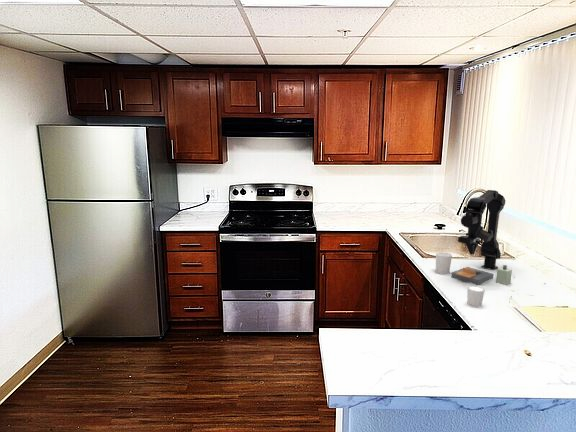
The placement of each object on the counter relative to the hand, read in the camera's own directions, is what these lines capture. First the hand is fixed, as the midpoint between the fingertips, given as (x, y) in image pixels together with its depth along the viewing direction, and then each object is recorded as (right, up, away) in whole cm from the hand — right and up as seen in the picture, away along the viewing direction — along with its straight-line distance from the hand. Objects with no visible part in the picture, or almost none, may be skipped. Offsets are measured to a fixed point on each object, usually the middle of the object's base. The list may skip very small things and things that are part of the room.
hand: (471, 254), depth 203 cm
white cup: (-10, -11, +12) cm, 19 cm away
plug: (+14, -14, -3) cm, 20 cm away
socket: (+2, -12, +4) cm, 13 cm away
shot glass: (-12, -19, -28) cm, 36 cm away
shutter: (-3, -10, 0) cm, 11 cm away
